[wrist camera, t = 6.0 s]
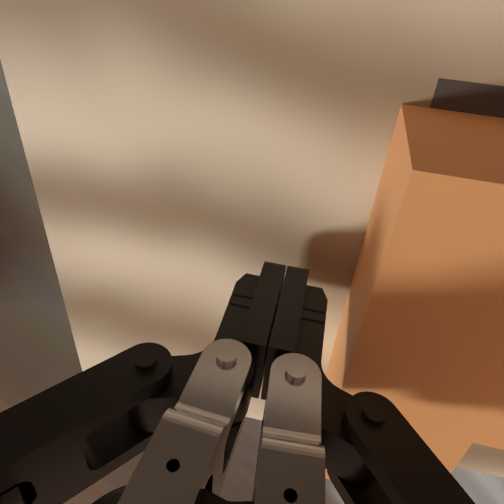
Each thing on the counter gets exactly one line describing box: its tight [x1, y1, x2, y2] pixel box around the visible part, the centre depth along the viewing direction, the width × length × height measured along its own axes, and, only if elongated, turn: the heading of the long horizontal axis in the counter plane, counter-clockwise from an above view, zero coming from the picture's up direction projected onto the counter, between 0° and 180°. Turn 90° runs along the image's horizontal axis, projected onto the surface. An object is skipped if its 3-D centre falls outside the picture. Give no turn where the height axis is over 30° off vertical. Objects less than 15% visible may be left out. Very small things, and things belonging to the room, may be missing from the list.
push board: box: [0, 0, 504, 477], centre depth 15 cm, size 20×26×1 cm
